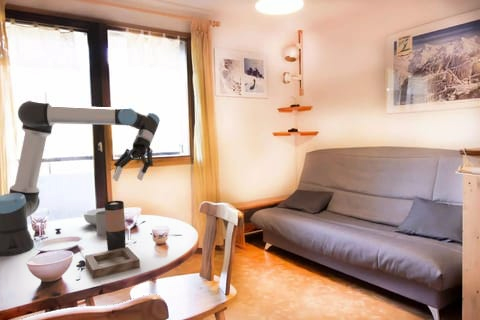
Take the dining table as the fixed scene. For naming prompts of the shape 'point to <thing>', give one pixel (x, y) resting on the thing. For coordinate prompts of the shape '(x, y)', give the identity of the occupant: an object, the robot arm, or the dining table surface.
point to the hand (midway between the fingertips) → (126, 179)
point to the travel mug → (115, 225)
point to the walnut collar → (111, 262)
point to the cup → (101, 223)
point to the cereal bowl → (92, 215)
